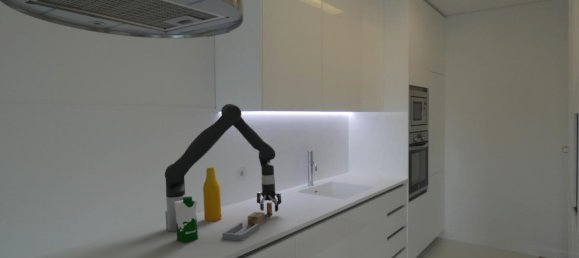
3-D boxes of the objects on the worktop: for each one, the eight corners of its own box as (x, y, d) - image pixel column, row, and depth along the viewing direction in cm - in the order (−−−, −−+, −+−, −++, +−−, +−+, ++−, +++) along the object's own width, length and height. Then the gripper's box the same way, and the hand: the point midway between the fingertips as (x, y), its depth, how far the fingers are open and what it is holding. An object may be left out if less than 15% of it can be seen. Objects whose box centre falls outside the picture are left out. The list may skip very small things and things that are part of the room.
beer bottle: (212, 216, 203) (210, 165, 202) (225, 218, 198) (222, 166, 197) (200, 221, 195) (198, 168, 194) (213, 222, 190) (211, 168, 189)
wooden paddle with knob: (248, 225, 183) (247, 212, 183) (265, 213, 205) (265, 202, 204) (258, 226, 181) (258, 213, 181) (275, 214, 203) (275, 202, 202)
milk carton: (183, 244, 159) (181, 200, 159) (173, 239, 166) (171, 197, 165) (200, 239, 166) (198, 196, 165) (191, 235, 172) (188, 193, 171)
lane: (222, 238, 165) (222, 233, 165) (240, 227, 181) (240, 222, 181) (242, 240, 161) (242, 235, 161) (258, 228, 177) (258, 223, 177)
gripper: (253, 183, 201) (255, 212, 201) (277, 184, 195) (278, 213, 196) (259, 181, 208) (260, 208, 208) (282, 181, 203) (283, 210, 203)
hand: (269, 211), depth 202 cm, fingers open, 8 cm apart
